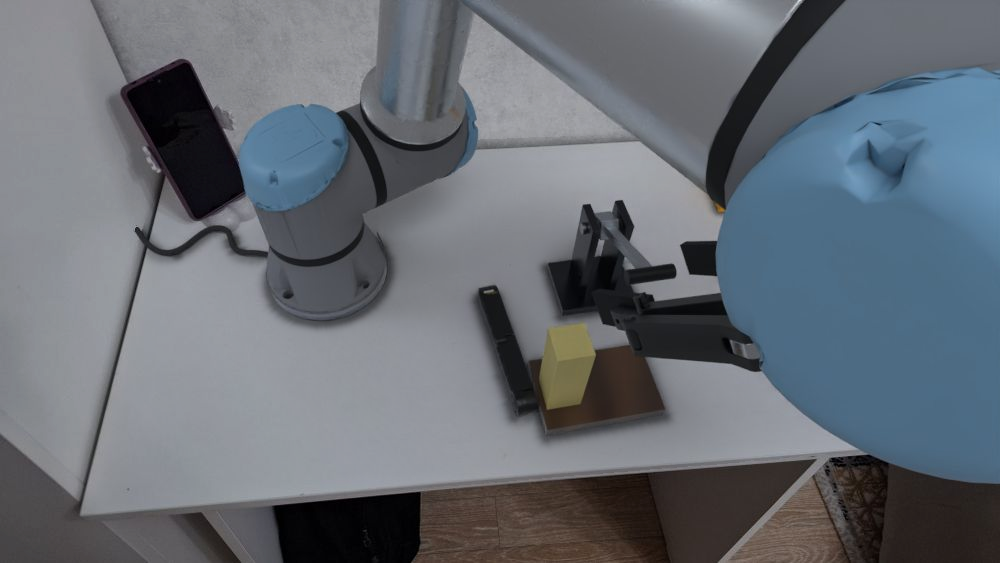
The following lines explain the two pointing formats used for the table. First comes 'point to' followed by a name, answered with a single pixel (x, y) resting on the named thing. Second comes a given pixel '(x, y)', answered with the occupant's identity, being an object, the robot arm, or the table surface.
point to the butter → (566, 365)
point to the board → (604, 393)
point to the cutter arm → (632, 253)
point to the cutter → (590, 264)
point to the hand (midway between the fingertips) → (645, 281)
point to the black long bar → (507, 352)
